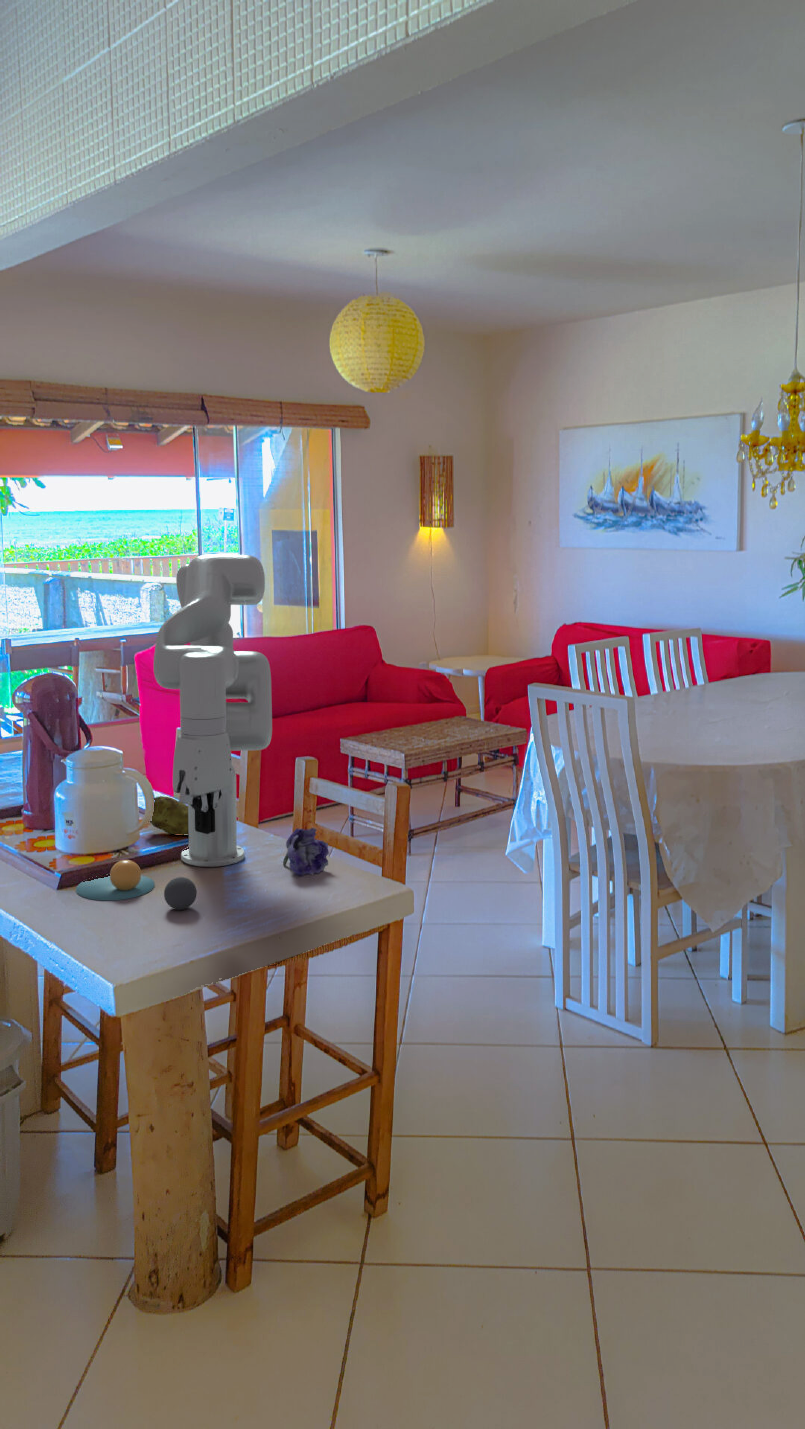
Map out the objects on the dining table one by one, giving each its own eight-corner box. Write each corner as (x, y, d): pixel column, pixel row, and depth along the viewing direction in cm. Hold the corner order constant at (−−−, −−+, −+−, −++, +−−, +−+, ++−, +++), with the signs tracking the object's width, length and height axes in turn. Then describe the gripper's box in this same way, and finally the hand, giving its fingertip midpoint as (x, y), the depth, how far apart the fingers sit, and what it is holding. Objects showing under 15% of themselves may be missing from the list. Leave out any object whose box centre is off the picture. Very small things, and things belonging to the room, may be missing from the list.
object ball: (141, 858, 194) (146, 889, 194) (136, 855, 199) (140, 884, 199) (109, 865, 192) (114, 895, 192) (105, 861, 197) (110, 891, 197)
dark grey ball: (204, 889, 185) (197, 914, 188) (193, 870, 189) (186, 895, 192) (173, 890, 182) (166, 917, 184) (163, 871, 186) (156, 897, 188)
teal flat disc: (92, 873, 205) (92, 872, 205) (163, 876, 204) (163, 875, 204) (64, 898, 191) (64, 897, 191) (141, 902, 190) (141, 901, 190)
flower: (261, 836, 208) (303, 820, 204) (286, 843, 215) (327, 828, 211) (268, 882, 204) (311, 866, 200) (293, 888, 211) (335, 872, 208)
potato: (192, 842, 225) (191, 805, 223) (139, 835, 229) (138, 799, 227) (211, 831, 233) (211, 796, 231) (159, 825, 237) (159, 790, 235)
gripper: (218, 716, 187) (219, 818, 190) (154, 730, 175) (156, 838, 178) (250, 722, 183) (251, 825, 186) (187, 736, 171) (189, 846, 174)
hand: (205, 831), depth 182 cm, fingers closed
